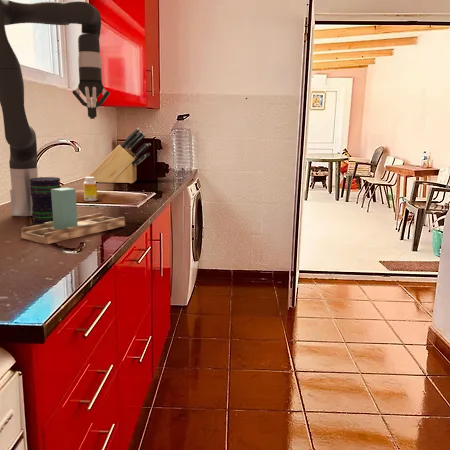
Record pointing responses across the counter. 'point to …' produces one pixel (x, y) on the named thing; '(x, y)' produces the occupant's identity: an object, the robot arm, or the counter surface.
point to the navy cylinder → (42, 198)
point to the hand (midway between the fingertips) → (92, 118)
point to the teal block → (64, 207)
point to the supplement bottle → (90, 189)
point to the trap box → (71, 229)
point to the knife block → (122, 161)
